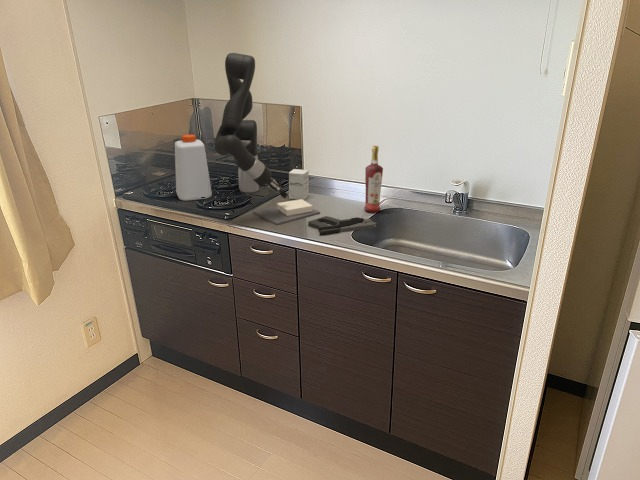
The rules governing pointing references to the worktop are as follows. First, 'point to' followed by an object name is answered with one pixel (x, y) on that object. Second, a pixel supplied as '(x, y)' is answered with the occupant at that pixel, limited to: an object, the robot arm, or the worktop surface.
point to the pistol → (340, 225)
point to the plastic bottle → (191, 169)
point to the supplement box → (298, 184)
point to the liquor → (373, 182)
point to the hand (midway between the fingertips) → (285, 196)
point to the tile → (294, 207)
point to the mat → (281, 215)
